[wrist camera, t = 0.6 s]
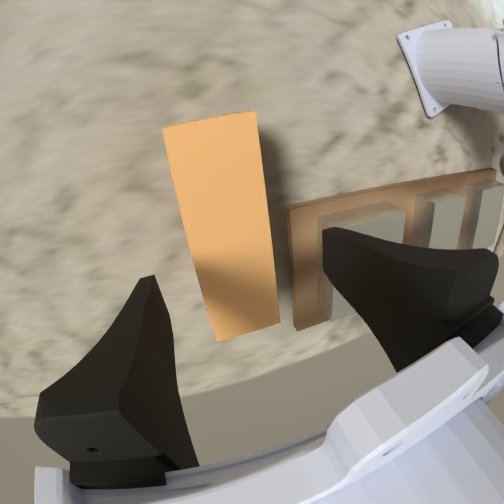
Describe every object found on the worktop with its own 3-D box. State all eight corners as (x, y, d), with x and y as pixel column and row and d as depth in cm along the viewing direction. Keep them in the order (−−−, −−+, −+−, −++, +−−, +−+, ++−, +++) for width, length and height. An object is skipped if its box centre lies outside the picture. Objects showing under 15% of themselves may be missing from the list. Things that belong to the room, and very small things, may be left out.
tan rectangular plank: (228, 112, 16) (255, 111, 11) (253, 276, 22) (280, 322, 17) (162, 125, 15) (162, 128, 11) (202, 291, 21) (216, 341, 17)
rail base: (285, 206, 20) (289, 210, 19) (491, 167, 26) (496, 169, 25) (293, 325, 26) (297, 331, 25) (478, 245, 31) (482, 248, 31)
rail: (316, 217, 20) (334, 230, 18) (489, 178, 25) (504, 184, 23) (317, 303, 24) (331, 321, 22) (480, 235, 29) (493, 243, 27)
